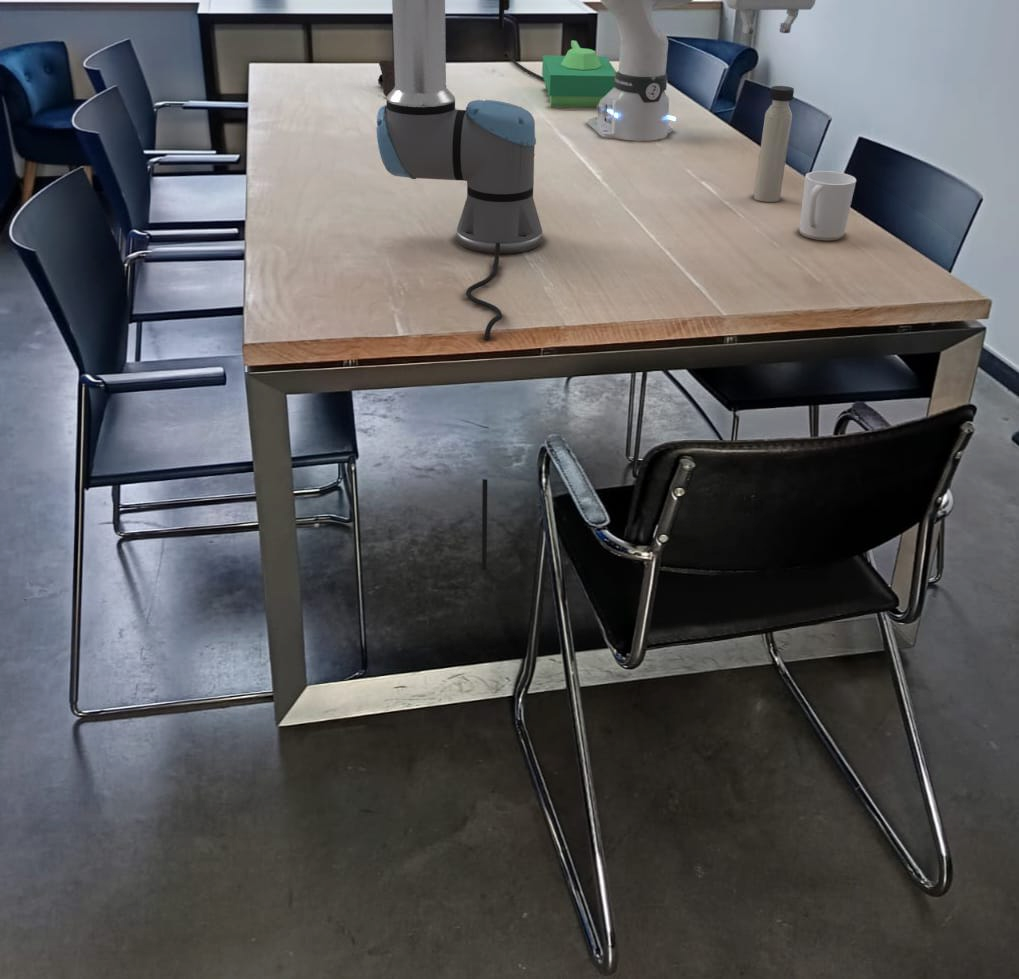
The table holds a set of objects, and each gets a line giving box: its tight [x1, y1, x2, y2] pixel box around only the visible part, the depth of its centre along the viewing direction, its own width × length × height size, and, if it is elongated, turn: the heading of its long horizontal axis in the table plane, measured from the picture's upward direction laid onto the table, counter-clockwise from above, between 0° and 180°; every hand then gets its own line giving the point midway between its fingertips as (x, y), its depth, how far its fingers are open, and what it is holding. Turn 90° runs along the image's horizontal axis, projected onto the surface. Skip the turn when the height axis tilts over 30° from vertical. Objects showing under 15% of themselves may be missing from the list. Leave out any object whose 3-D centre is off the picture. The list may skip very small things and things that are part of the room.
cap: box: [769, 85, 795, 102], centre depth 211 cm, size 4×4×2 cm
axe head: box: [377, 59, 395, 97], centre depth 299 cm, size 18×8×15 cm
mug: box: [798, 170, 857, 241], centre depth 199 cm, size 11×9×10 cm
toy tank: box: [541, 40, 617, 108], centre depth 296 cm, size 18×12×35 cm
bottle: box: [753, 100, 793, 203], centre depth 216 cm, size 5×5×21 cm
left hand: (468, 26), depth 224 cm, fingers open, 13 cm apart
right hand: (766, 33), depth 226 cm, fingers open, 8 cm apart
